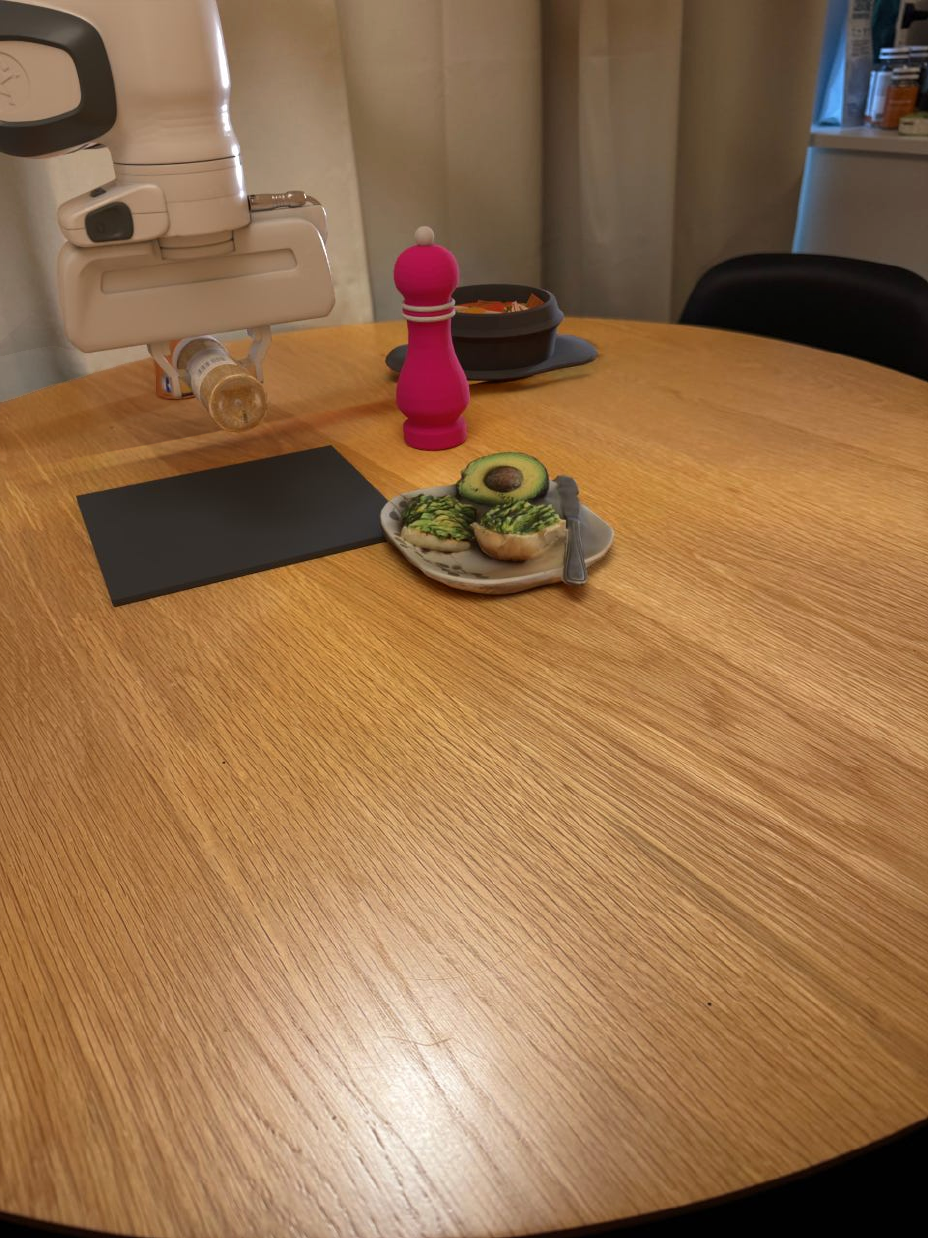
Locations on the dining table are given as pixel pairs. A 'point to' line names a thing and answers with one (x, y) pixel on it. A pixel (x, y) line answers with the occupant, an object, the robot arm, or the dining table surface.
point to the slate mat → (229, 522)
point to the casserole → (507, 334)
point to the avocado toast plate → (498, 528)
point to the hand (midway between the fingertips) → (217, 389)
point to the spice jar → (221, 384)
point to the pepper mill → (430, 347)
